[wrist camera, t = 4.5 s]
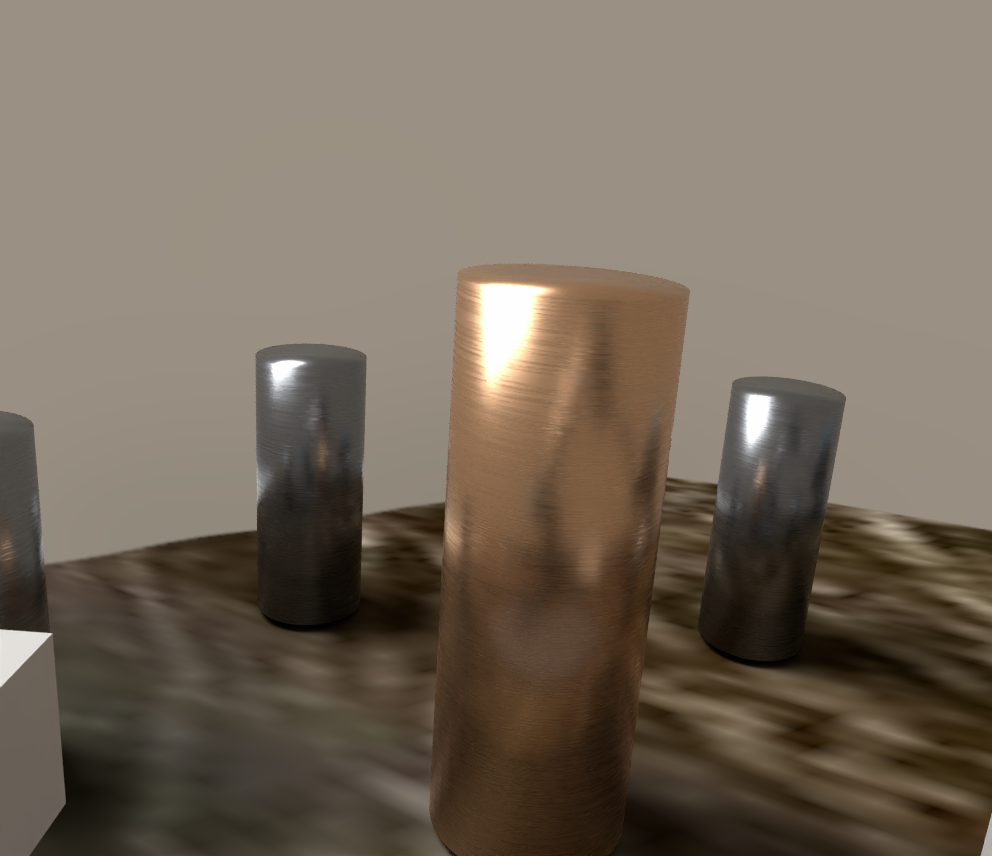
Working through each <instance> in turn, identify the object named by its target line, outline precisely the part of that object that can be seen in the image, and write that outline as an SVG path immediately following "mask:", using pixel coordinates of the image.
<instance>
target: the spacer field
mask: <svg viewBox="0 0 992 856" xmlns="http://www.w3.org/2000/svg"><path fill="white" fill-rule="evenodd" d="M365 395H366V355H365V354H364V353H362V352H360V351H358V350H354V349H351V348H346V347H341V346H334V345H325V344H287V345H279V346H272V347H268V348H264V349H262V350H260V351H258V352H257V353H256V444H257V445H256V447H257V448H256V450H257V571H258V607H259V609H260V610H261V612H262V613H263V614H264V615H266V616H267V617H269V618H271V619H273V620H276V621H279V622H283V623H287V624H294V625H319V624H325V623H330V622H334V621H337V620H340V619H342V618H345V617H347V616H348V615H350V614H352V613H353V612H354V611H355V610H356V609H357V608H358V606H359V604H360V586H361V548H362V508H363V472H364V434H365V433H364V432H365ZM845 401H846V397H845V396H844V394H842V393H841V392H839V391H837V390H835V389H832V388H829V387H827V386H823V385H820V384H816V383H811V382H807V381H801V380H795V379H788V378H779V377H746V378H740V379H737V380H735V381H734V382H733V383H732V390H731V398H730V404H729V411H728V418H727V425H726V432H725V440H724V447H723V453H722V460H721V467H720V475H719V481H718V488H717V495H716V502H715V509H714V516H713V523H712V530H711V537H710V544H709V551H708V558H707V565H706V572H705V580H704V587H703V594H702V601H701V608H700V615H699V622H698V630H699V633H700V634H701V636H702V637H703V638H704V639H705V640H706V641H707V642H708V643H709V644H711V645H712V646H714V647H715V648H717V649H719V650H721V651H723V652H725V653H728V654H731V655H734V656H737V657H740V658H745V659H750V660H756V661H780V660H785V659H788V658H791V657H793V656H795V655H796V654H798V652H799V651H800V649H801V646H802V641H803V635H804V630H805V624H806V618H807V613H808V607H809V602H810V596H811V591H812V585H813V579H814V574H815V568H816V563H817V557H818V552H819V546H820V540H821V535H822V529H823V524H824V518H825V513H826V507H827V501H828V496H829V490H830V484H831V479H832V473H833V468H834V462H835V457H836V451H837V445H838V440H839V434H840V429H841V423H842V418H843V412H844V406H845ZM0 629H1V630H14V631H27V632H41V633H50V626H49V614H48V601H47V589H46V576H45V564H44V551H43V539H42V527H41V514H40V502H39V489H38V478H37V464H36V451H35V440H34V426H33V423H32V422H31V421H30V420H29V419H27V418H26V417H23V416H21V415H17V414H14V413H9V412H3V411H0Z"/></svg>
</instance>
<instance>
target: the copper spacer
mask: <svg viewBox="0 0 992 856" xmlns="http://www.w3.org/2000/svg"><path fill="white" fill-rule="evenodd" d="M689 294H690V290H689V289H688V288H687V287H685V286H683V285H681V284H679V283H676V282H673V281H669V280H666V279H661V278H657V277H653V276H648V275H642V274H637V273H630V272H623V271H616V270H608V269H599V268H589V267H578V266H565V265H546V264H545V265H544V264H494V265H481V266H474V267H468V268H465V269H462V270H460V271H459V272H458V276H457V295H456V315H455V334H454V353H453V372H452V390H451V409H450V428H449V446H448V465H447V484H446V503H445V522H444V540H443V559H442V578H441V597H440V616H439V635H438V654H437V672H436V691H435V710H434V729H433V748H432V767H431V786H430V804H429V811H430V818H431V821H432V824H433V827H434V829H435V831H436V833H437V834H438V836H439V837H440V839H441V840H442V841H443V843H444V844H445V845H446V846H447V847H448V848H449V849H450V850H451V851H452V852H453V853H455V854H456V855H457V856H609V855H610V853H611V852H612V851H613V850H614V849H615V847H616V845H617V844H618V842H619V840H620V837H621V834H622V829H623V823H624V815H625V807H626V799H627V791H628V783H629V775H630V767H631V759H632V751H633V743H634V735H635V727H636V719H637V711H638V703H639V695H640V687H641V679H642V671H643V663H644V655H645V647H646V639H647V631H648V623H649V615H650V607H651V599H652V591H653V583H654V575H655V567H656V559H657V551H658V543H659V535H660V527H661V519H662V511H663V503H664V495H665V487H666V479H667V470H668V462H669V455H670V446H671V438H672V430H673V422H674V414H675V406H676V398H677V390H678V382H679V374H680V366H681V358H682V350H683V342H684V334H685V326H686V318H687V310H688V302H689Z"/></svg>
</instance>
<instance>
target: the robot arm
mask: <svg viewBox="0 0 992 856" xmlns="http://www.w3.org/2000/svg"><path fill="white" fill-rule="evenodd" d="M65 804H66V797H65V785H64V772H63V760H62V747H61V735H60V722H59V710H58V697H57V685H56V672H55V659H54V647H53V634H52V633H41V632H27V631H14V630H1V629H0V856H30V854H31V853H32V851H33V850H34V848H35V847H36V846H37V844H38V843H39V841H40V840H41V838H42V837H43V835H44V834H45V833H46V831H47V830H48V828H49V827H50V825H51V824H52V823H53V821H54V820H55V818H56V817H57V815H58V814H59V813H60V811H61V810H62V808H63V807H64V805H65ZM981 856H992V815H991V819H990V822H989V826H988V830H987V834H986V838H985V842H984V846H983V849H982V853H981Z"/></svg>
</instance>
